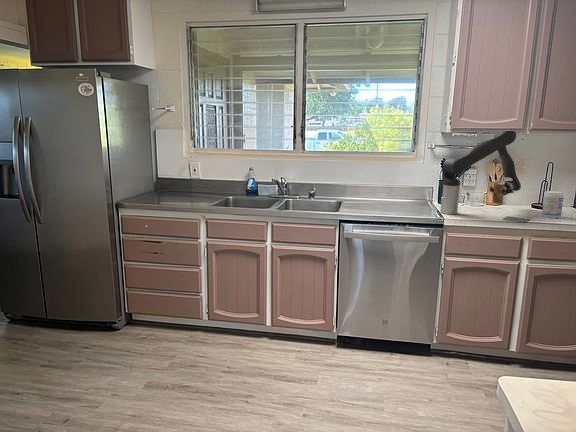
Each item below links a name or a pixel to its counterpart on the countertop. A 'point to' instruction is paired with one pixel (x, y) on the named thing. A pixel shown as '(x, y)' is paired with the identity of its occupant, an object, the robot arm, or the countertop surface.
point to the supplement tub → (552, 204)
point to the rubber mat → (516, 219)
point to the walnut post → (498, 191)
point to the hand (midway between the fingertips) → (497, 191)
